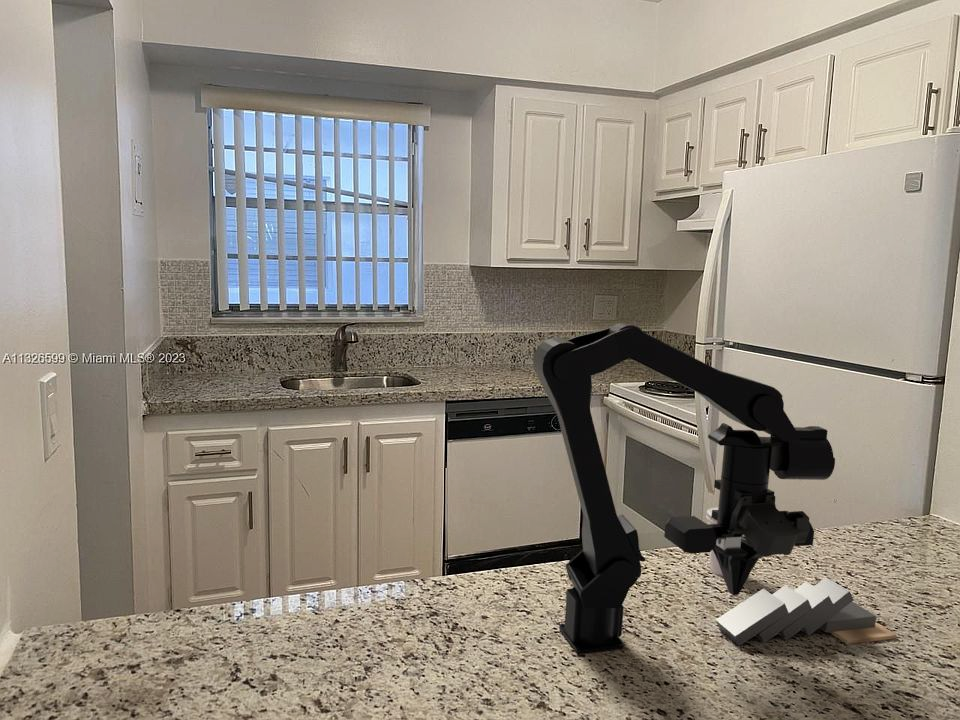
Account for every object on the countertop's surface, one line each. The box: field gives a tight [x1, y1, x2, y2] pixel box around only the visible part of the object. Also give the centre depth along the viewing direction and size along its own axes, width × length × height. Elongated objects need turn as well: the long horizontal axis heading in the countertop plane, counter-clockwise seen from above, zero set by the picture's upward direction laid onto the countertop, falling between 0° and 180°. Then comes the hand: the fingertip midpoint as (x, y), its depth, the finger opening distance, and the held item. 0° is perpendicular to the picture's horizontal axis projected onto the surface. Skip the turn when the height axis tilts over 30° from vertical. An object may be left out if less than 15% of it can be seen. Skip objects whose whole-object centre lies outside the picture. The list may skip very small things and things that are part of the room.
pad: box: [829, 621, 897, 645], centre depth 100 cm, size 8×9×1 cm
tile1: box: [715, 588, 789, 646], centre depth 96 cm, size 2×4×8 cm
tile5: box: [818, 601, 877, 633], centre depth 100 cm, size 2×4×8 cm
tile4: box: [800, 577, 855, 637], centre depth 99 cm, size 2×4×8 cm
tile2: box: [754, 584, 812, 644], centre depth 97 cm, size 2×4×8 cm
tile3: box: [777, 581, 833, 641], centre depth 98 cm, size 2×4×8 cm
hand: (733, 593), depth 95 cm, fingers closed
